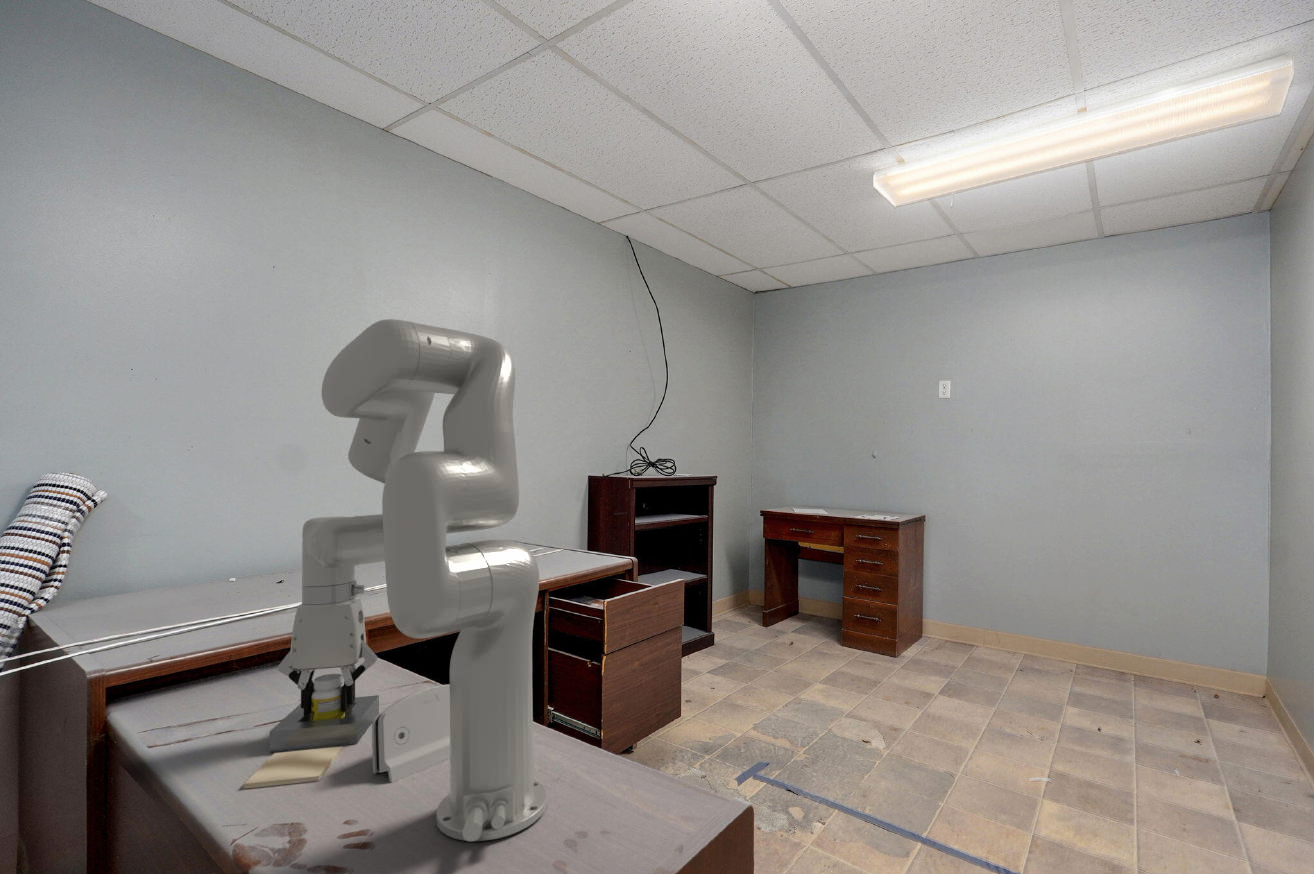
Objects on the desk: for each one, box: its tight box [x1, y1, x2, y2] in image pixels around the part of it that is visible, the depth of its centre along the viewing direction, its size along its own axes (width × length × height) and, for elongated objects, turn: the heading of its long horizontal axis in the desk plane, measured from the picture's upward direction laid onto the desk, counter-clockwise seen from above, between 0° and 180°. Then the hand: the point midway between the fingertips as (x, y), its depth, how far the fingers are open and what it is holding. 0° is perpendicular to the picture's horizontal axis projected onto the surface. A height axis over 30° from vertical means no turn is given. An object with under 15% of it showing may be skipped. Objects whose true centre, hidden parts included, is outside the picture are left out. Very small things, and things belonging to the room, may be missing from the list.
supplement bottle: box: [311, 673, 345, 721], centre depth 96 cm, size 5×5×8 cm
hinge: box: [371, 683, 450, 783], centre depth 88 cm, size 17×5×10 cm, turn 140°
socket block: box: [269, 695, 380, 753], centre depth 96 cm, size 12×12×3 cm
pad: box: [243, 745, 343, 790], centre depth 84 cm, size 9×9×1 cm
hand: (328, 709), depth 96 cm, fingers closed on supplement bottle, 4 cm apart
